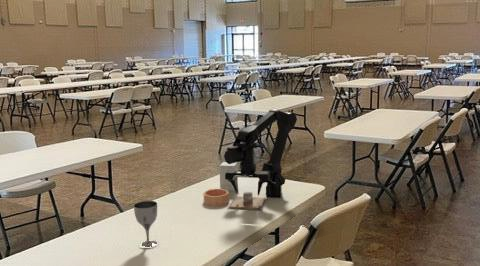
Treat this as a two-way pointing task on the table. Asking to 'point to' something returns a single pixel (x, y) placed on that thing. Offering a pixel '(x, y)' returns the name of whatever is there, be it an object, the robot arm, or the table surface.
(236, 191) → the robot arm
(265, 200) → the mat
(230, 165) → the supplement box
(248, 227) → the table surface
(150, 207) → the wine glass
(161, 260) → the table surface
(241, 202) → the lid
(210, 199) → the bowl
